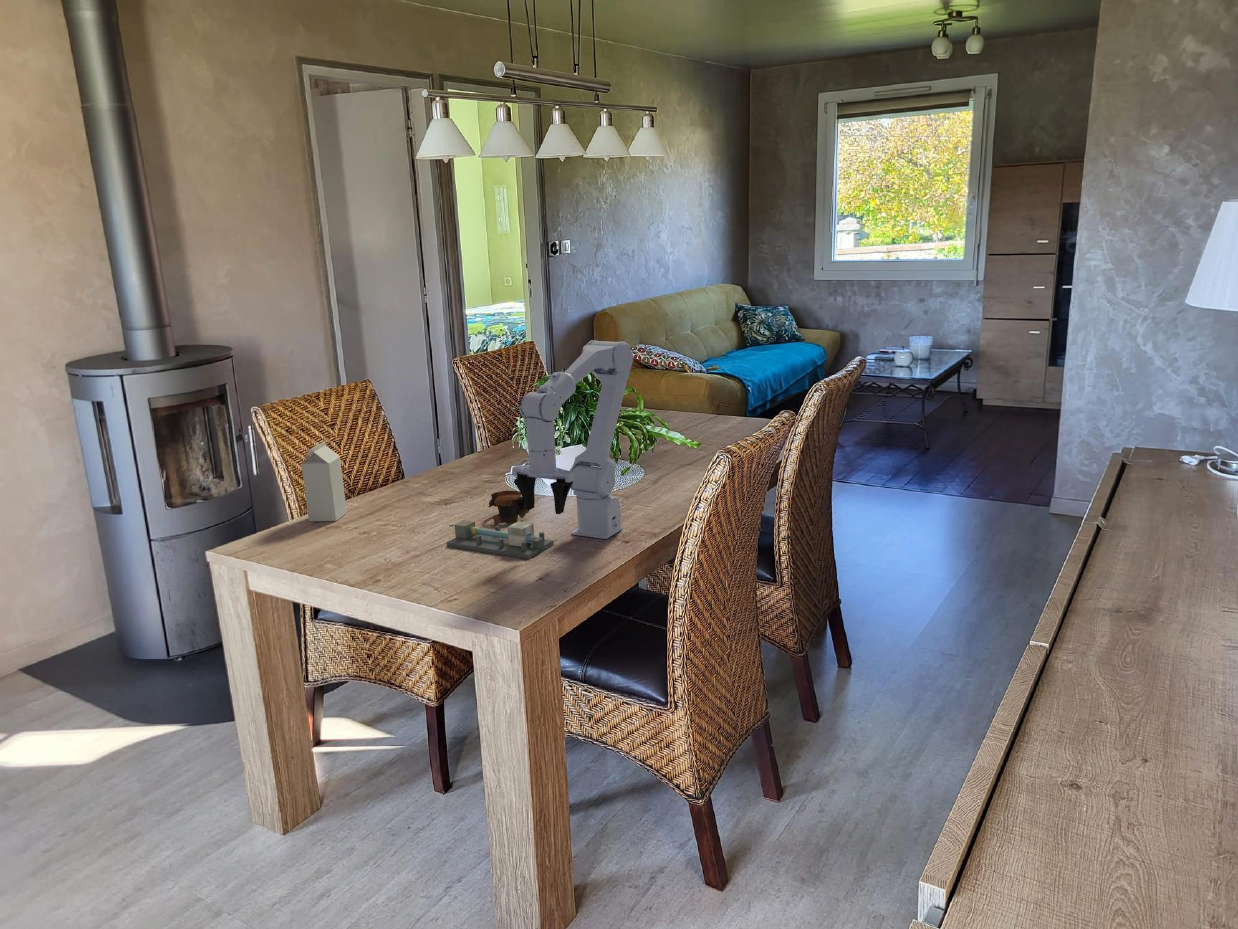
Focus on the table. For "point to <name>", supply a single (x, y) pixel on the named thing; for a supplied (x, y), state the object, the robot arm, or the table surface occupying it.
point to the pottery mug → (508, 506)
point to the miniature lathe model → (496, 541)
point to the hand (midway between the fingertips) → (544, 511)
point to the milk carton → (323, 484)
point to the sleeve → (519, 532)
